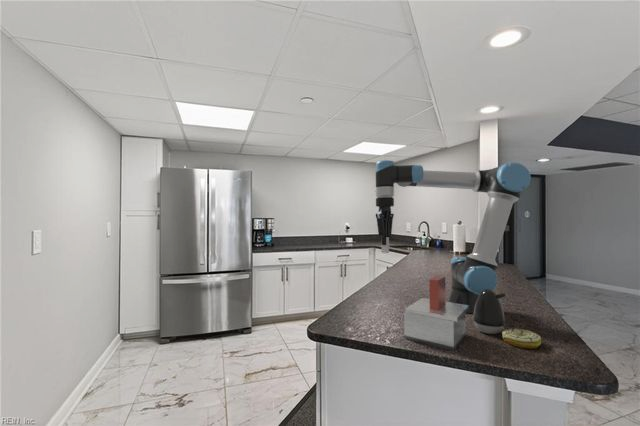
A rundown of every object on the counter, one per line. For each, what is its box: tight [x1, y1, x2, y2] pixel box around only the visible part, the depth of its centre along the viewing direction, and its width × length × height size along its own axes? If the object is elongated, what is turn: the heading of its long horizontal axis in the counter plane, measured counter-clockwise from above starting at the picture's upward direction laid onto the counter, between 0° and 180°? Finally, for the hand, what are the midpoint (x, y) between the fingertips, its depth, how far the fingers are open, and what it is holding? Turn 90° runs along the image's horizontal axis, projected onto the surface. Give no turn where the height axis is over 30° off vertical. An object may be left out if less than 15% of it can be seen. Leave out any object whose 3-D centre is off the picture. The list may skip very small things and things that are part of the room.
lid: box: [404, 275, 469, 322], centre depth 107 cm, size 17×17×11 cm
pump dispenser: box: [472, 289, 506, 335], centre depth 111 cm, size 10×10×15 cm
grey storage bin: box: [403, 311, 467, 351], centre depth 107 cm, size 16×16×9 cm
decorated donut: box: [501, 328, 542, 350], centre depth 101 cm, size 10×11×4 cm
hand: (385, 252), depth 131 cm, fingers closed
